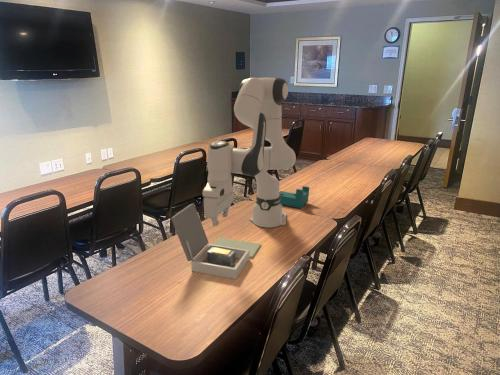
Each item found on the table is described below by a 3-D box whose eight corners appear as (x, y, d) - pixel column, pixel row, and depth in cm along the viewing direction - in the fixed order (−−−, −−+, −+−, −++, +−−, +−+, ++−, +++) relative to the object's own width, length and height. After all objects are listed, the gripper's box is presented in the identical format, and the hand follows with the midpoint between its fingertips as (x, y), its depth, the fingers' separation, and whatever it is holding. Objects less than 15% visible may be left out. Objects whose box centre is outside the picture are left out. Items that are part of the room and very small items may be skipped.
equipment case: (204, 251, 151) (203, 224, 147) (249, 258, 145) (249, 231, 141) (186, 270, 136) (185, 241, 132) (235, 279, 130) (235, 249, 127)
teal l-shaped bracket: (307, 204, 209) (309, 187, 206) (300, 208, 200) (302, 190, 197) (280, 198, 218) (281, 182, 215) (272, 202, 208) (273, 185, 206)
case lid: (208, 242, 149) (205, 243, 149) (193, 203, 145) (190, 203, 146) (191, 260, 134) (187, 261, 135) (174, 217, 131) (170, 218, 131)
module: (212, 260, 144) (212, 246, 142) (235, 265, 140) (235, 250, 139) (207, 265, 140) (207, 251, 138) (230, 270, 136) (230, 255, 135)
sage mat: (218, 239, 162) (218, 237, 162) (260, 245, 156) (260, 243, 156) (207, 250, 151) (207, 249, 151) (252, 258, 145) (252, 256, 145)
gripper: (222, 178, 141) (223, 210, 145) (200, 193, 122) (201, 230, 126) (237, 179, 139) (237, 212, 143) (217, 195, 120) (217, 232, 124)
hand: (220, 220), depth 134 cm, fingers open, 8 cm apart
